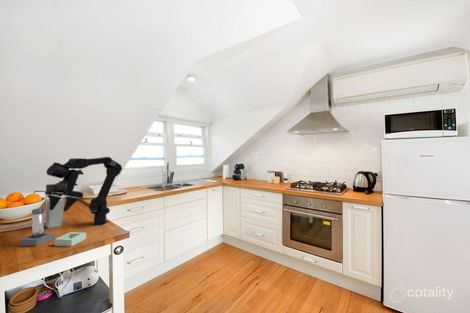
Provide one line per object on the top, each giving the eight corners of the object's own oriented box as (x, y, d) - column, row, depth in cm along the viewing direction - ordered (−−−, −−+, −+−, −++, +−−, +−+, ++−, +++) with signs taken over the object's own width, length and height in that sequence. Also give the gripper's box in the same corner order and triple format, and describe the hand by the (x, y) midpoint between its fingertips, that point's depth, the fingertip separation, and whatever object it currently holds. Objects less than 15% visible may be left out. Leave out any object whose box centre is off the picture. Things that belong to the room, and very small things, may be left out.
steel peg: (38, 240, 97) (38, 208, 97) (45, 240, 97) (46, 208, 97) (29, 243, 93) (29, 210, 93) (37, 243, 93) (37, 210, 93)
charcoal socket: (38, 238, 100) (38, 232, 100) (54, 238, 99) (54, 232, 99) (19, 245, 91) (19, 239, 91) (36, 246, 91) (36, 239, 91)
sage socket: (70, 238, 100) (70, 232, 100) (86, 238, 99) (86, 232, 99) (54, 245, 92) (54, 239, 92) (71, 246, 91) (71, 239, 91)
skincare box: (44, 225, 117) (44, 199, 117) (60, 222, 122) (60, 197, 122) (47, 229, 112) (47, 201, 112) (64, 225, 117) (64, 199, 117)
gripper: (39, 175, 99) (25, 207, 94) (67, 177, 94) (54, 210, 89) (62, 181, 109) (50, 210, 104) (88, 182, 105) (77, 212, 99)
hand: (57, 210), depth 99 cm, fingers open, 9 cm apart
